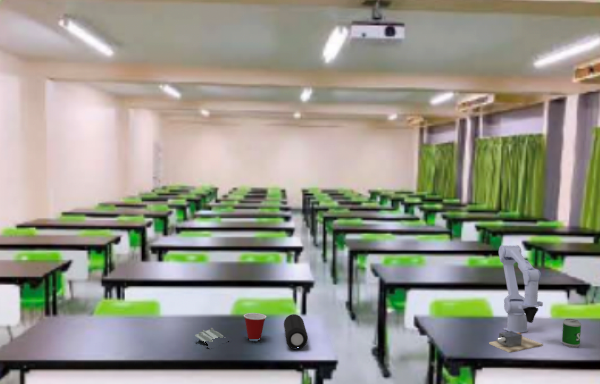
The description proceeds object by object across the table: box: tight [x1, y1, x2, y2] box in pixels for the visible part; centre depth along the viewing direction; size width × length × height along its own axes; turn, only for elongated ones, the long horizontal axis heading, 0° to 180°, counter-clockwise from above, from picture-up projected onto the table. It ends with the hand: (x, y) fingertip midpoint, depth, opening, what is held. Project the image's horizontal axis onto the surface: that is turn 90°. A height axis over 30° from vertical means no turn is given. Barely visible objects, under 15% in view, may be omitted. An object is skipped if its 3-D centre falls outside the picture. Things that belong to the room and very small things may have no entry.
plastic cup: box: [243, 312, 267, 339], centre depth 245 cm, size 11×11×12 cm
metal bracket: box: [194, 327, 225, 343], centre depth 242 cm, size 14×6×15 cm
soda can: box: [561, 318, 582, 349], centre depth 244 cm, size 8×8×12 cm
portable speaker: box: [283, 313, 309, 349], centre depth 244 cm, size 26×10×10 cm, turn 5°
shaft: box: [496, 333, 522, 343], centre depth 242 cm, size 14×4×4 cm, turn 116°
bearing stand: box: [488, 331, 544, 353], centre depth 244 cm, size 22×12×6 cm, turn 116°
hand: (529, 322), depth 249 cm, fingers closed
